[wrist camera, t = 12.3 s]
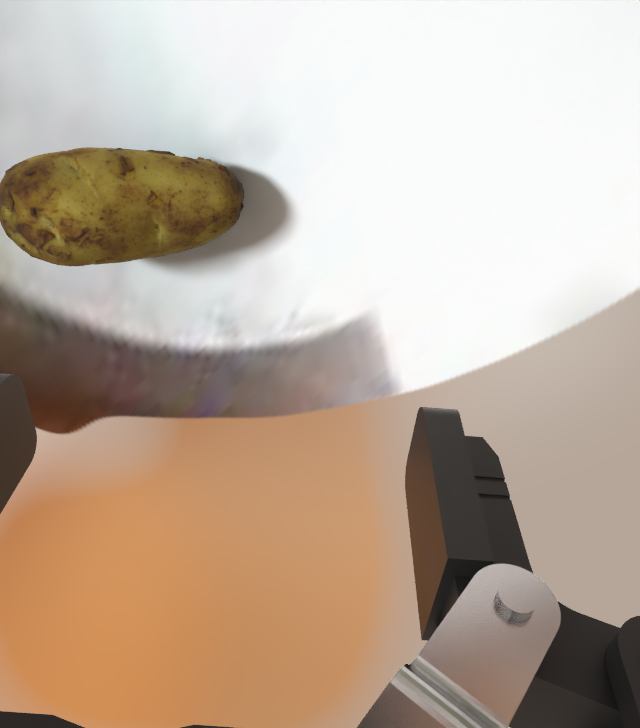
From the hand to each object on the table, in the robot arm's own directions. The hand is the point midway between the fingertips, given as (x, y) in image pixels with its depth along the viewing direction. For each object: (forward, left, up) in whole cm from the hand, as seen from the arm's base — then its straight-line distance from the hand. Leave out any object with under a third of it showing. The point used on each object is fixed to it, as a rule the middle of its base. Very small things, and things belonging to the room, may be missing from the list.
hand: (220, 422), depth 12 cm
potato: (+6, -10, -28) cm, 31 cm away
